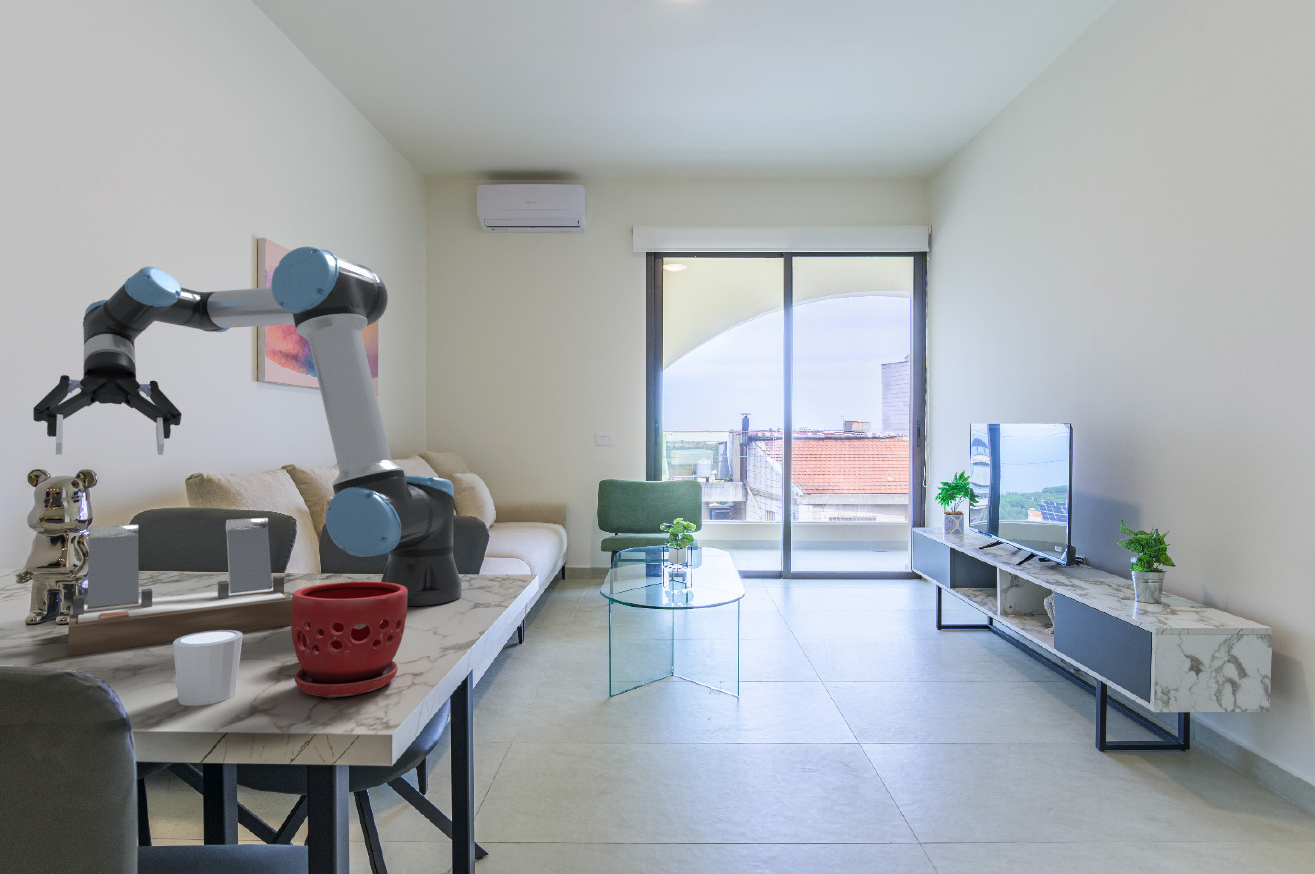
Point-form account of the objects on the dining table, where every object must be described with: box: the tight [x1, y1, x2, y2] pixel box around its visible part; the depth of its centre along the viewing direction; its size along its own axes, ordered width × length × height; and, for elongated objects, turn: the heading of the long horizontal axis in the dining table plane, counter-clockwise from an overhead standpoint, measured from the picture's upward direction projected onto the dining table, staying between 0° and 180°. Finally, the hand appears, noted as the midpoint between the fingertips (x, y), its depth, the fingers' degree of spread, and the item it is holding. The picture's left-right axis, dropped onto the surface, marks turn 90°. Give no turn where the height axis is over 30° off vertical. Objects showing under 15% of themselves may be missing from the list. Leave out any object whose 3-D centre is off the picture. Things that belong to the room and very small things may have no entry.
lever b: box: [86, 523, 140, 609], centre depth 106 cm, size 2×6×12 cm, turn 130°
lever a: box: [225, 517, 273, 594], centre depth 117 cm, size 2×6×12 cm, turn 130°
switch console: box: [67, 575, 293, 657], centre depth 109 cm, size 14×28×7 cm, turn 130°
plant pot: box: [290, 581, 408, 700], centre depth 86 cm, size 13×13×12 cm
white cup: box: [172, 630, 244, 707], centre depth 81 cm, size 7×7×7 cm
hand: (111, 449), depth 116 cm, fingers open, 13 cm apart
